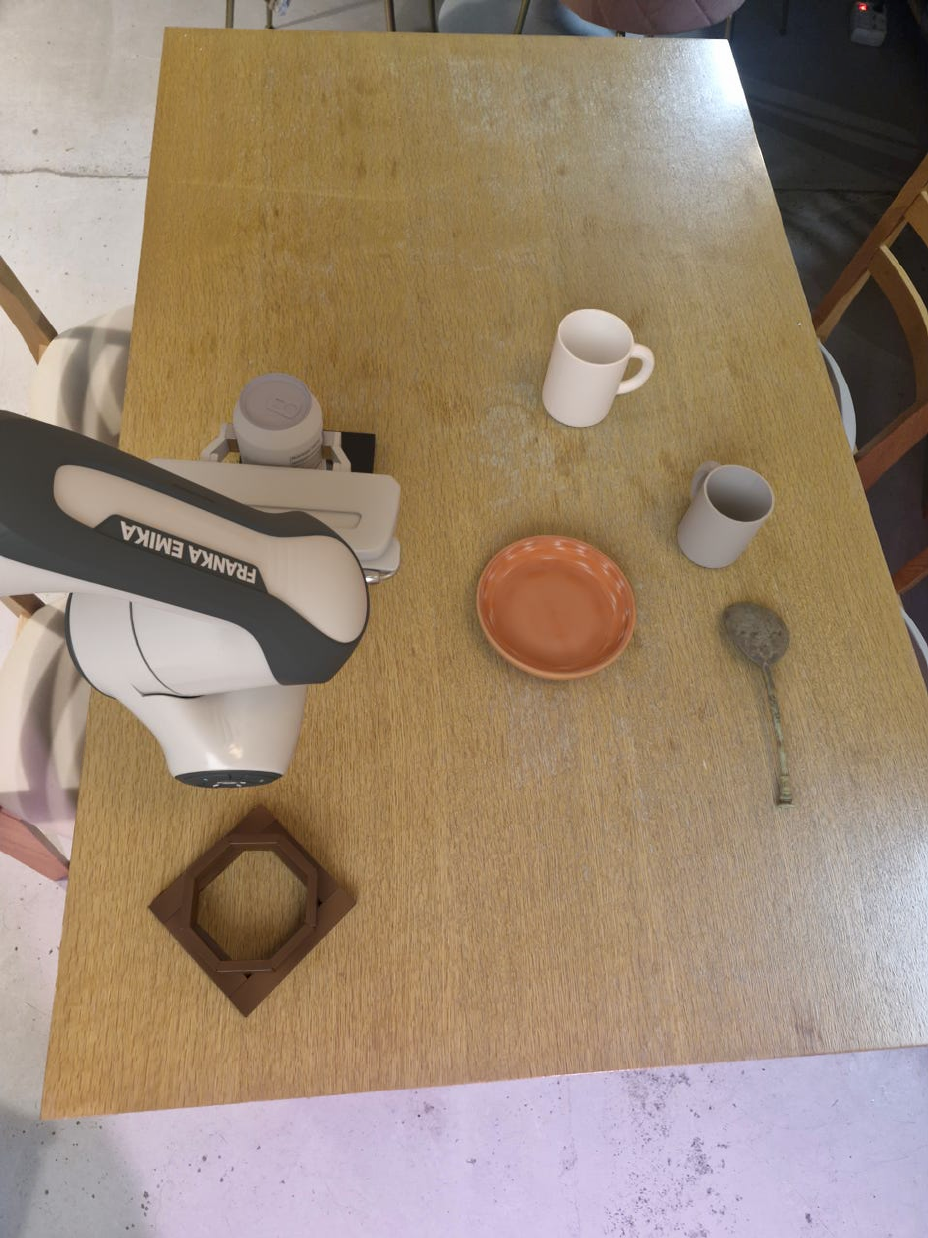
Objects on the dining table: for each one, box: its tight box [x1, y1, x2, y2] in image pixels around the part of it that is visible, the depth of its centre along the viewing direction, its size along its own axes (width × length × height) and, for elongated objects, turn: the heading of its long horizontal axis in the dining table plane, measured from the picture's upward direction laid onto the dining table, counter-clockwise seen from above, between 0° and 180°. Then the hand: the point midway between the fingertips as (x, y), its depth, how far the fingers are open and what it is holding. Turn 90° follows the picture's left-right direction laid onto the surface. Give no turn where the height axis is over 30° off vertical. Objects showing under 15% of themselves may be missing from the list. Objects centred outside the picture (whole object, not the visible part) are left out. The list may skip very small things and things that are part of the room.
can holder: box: [147, 803, 357, 1018], centre depth 70 cm, size 12×12×3 cm
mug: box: [541, 308, 655, 428], centre depth 95 cm, size 12×8×10 cm
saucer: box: [475, 534, 637, 681], centre depth 85 cm, size 16×16×3 cm
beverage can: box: [232, 372, 326, 470], centre depth 71 cm, size 7×7×12 cm
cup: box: [676, 459, 776, 569], centre depth 89 cm, size 7×10×9 cm
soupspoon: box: [723, 602, 798, 809], centre depth 83 cm, size 22×3×7 cm
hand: (282, 431), depth 70 cm, fingers closed on beverage can, 7 cm apart
